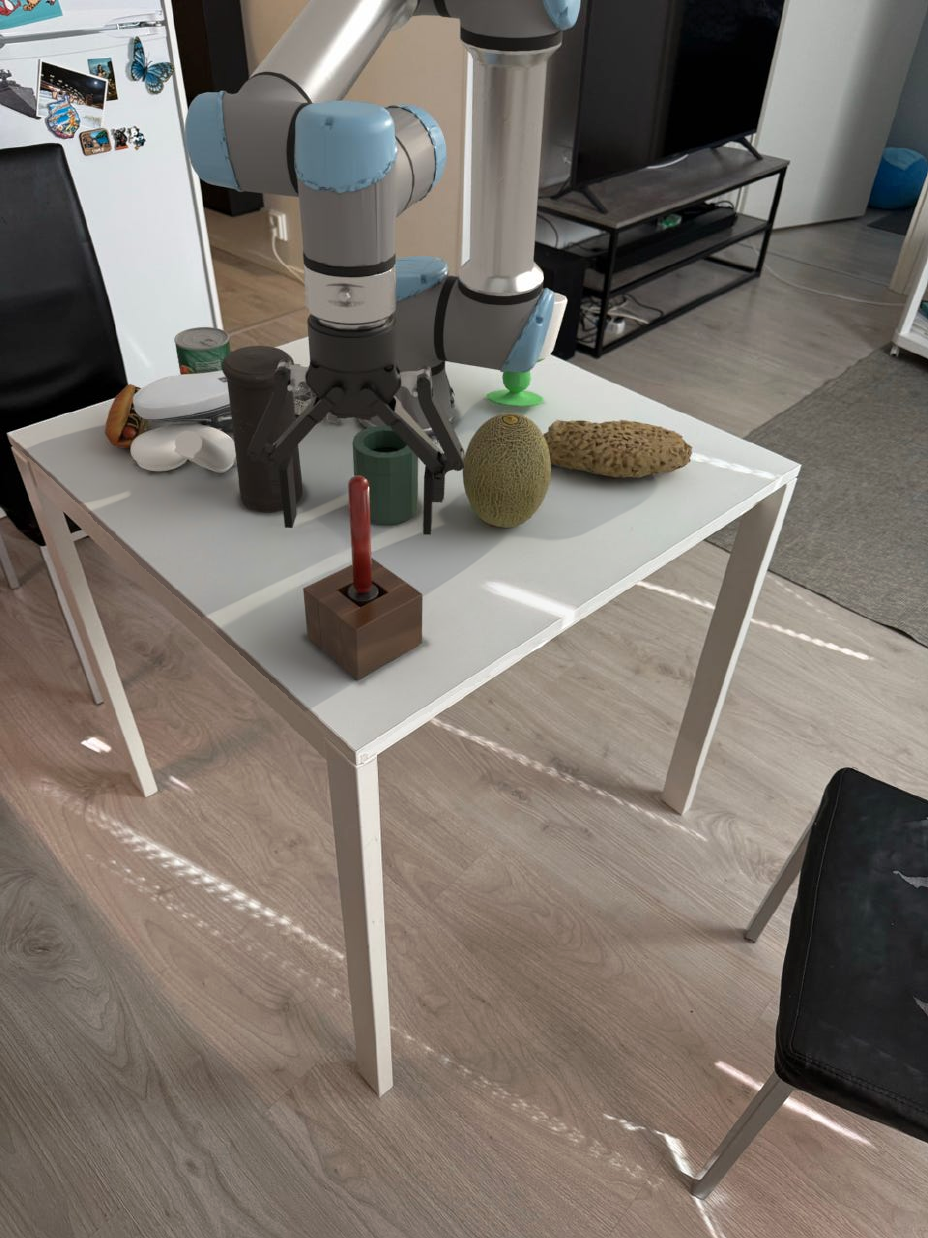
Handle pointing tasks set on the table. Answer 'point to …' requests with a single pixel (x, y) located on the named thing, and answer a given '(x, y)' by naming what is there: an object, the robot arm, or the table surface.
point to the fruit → (507, 470)
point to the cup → (522, 380)
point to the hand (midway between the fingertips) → (359, 524)
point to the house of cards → (307, 401)
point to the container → (257, 421)
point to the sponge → (616, 448)
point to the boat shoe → (187, 400)
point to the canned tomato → (201, 349)
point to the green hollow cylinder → (387, 474)
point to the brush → (360, 542)
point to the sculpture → (184, 448)
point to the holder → (363, 620)
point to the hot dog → (124, 419)
